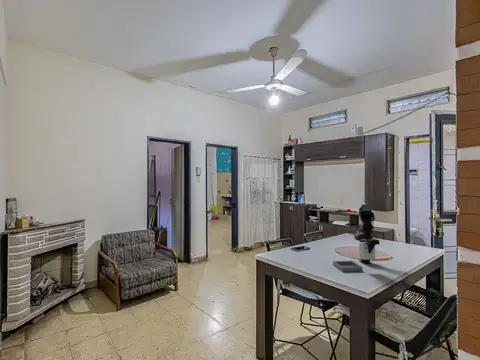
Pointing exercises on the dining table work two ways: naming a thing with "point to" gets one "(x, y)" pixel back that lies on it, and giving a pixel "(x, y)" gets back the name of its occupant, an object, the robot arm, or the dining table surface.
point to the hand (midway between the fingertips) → (367, 252)
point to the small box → (365, 251)
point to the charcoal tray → (347, 266)
